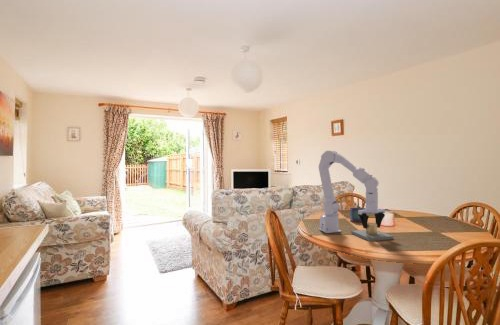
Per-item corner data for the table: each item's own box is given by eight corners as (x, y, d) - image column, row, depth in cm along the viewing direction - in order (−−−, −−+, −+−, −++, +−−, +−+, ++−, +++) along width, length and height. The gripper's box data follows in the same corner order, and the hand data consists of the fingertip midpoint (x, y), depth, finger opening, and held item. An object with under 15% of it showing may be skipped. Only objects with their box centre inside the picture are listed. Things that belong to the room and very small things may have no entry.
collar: (370, 235, 140) (370, 225, 140) (363, 232, 145) (363, 222, 145) (379, 234, 141) (379, 224, 141) (372, 231, 146) (372, 222, 146)
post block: (368, 241, 134) (368, 228, 134) (351, 233, 148) (351, 222, 148) (393, 239, 138) (393, 227, 138) (374, 232, 151) (374, 220, 151)
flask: (349, 221, 177) (349, 204, 177) (350, 220, 180) (350, 204, 180) (365, 223, 173) (365, 205, 173) (365, 222, 176) (365, 205, 176)
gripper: (364, 202, 137) (364, 230, 137) (389, 201, 141) (389, 228, 141) (355, 200, 144) (355, 227, 144) (379, 199, 148) (379, 225, 148)
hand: (371, 227), depth 143 cm, fingers open, 7 cm apart
